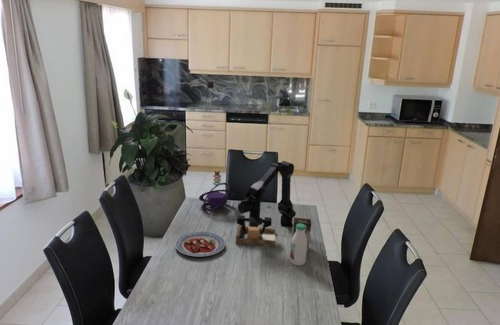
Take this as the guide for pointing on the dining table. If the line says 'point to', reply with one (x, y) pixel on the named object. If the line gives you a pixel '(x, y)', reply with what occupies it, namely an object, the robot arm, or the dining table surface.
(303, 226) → the milk bottle
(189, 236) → the ceramic plate
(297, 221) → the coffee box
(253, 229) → the block
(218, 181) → the decorative bottle
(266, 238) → the bay
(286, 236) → the dining table surface
